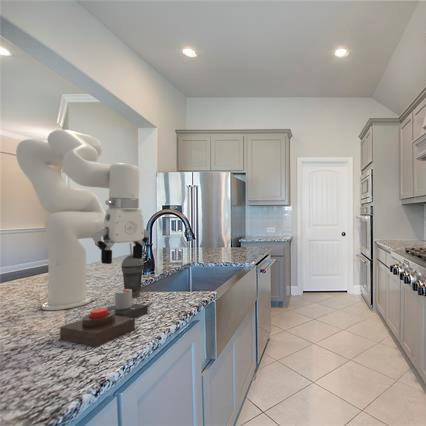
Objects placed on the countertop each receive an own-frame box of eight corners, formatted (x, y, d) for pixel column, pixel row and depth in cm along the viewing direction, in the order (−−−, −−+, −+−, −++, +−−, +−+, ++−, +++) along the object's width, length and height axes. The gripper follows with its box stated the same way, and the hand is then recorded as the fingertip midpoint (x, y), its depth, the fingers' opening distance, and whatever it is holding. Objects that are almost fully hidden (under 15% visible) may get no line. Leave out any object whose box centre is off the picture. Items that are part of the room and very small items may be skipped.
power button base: (59, 340, 69) (60, 319, 69) (102, 324, 79) (102, 306, 79) (95, 347, 66) (95, 325, 66) (134, 330, 75) (134, 311, 75)
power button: (86, 318, 71) (86, 311, 71) (101, 313, 74) (101, 307, 74) (96, 320, 70) (96, 313, 70) (111, 315, 73) (111, 308, 73)
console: (97, 318, 83) (97, 309, 83) (124, 309, 91) (124, 301, 91) (122, 322, 80) (122, 313, 80) (148, 312, 88) (148, 304, 88)
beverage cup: (132, 299, 101) (133, 244, 101) (115, 298, 103) (116, 243, 103) (148, 294, 108) (149, 242, 109) (132, 293, 110) (133, 241, 110)
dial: (111, 308, 84) (111, 291, 84) (125, 304, 88) (125, 287, 88) (122, 310, 83) (122, 292, 83) (135, 305, 87) (135, 288, 87)
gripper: (104, 204, 76) (102, 267, 77) (157, 205, 93) (156, 257, 93) (84, 203, 79) (83, 264, 79) (140, 205, 95) (139, 256, 95)
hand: (122, 260), depth 86 cm, fingers open, 9 cm apart
